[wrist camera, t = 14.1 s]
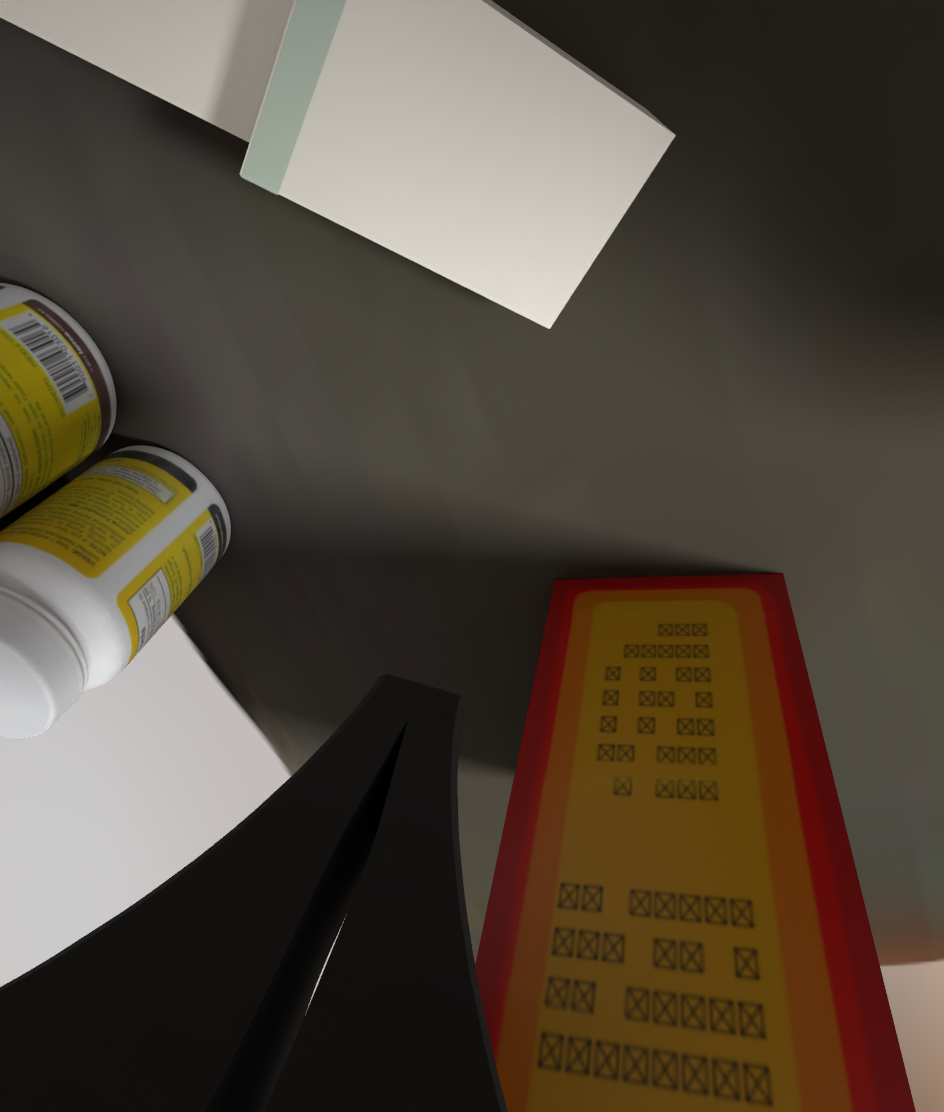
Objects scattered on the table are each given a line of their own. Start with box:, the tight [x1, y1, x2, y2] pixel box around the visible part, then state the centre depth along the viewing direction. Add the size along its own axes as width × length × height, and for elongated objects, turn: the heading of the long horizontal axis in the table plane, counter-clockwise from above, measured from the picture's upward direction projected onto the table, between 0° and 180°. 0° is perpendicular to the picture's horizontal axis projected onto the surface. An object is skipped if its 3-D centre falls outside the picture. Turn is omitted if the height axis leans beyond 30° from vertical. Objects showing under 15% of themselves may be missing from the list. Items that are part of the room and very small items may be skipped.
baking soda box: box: [475, 573, 916, 1112], centre depth 17 cm, size 10×6×16 cm
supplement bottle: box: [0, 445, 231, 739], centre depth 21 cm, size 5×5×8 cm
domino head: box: [240, 0, 676, 329], centre depth 14 cm, size 2×4×7 cm
